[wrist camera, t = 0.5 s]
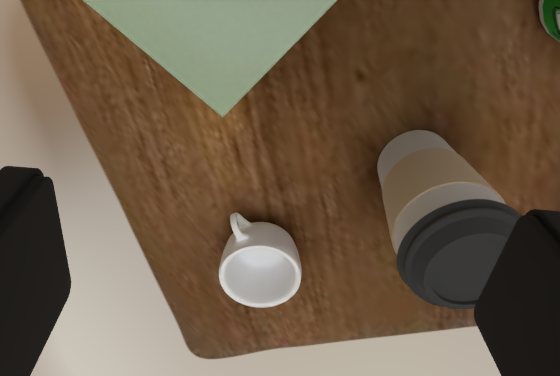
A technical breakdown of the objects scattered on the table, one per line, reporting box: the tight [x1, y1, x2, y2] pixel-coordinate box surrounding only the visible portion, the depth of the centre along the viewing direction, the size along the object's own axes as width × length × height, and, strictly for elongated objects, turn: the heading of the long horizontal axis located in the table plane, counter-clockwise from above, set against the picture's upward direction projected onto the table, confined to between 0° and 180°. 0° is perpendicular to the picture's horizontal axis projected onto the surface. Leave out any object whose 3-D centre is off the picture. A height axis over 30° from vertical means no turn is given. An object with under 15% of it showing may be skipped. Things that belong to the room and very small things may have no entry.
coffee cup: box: [377, 130, 521, 309], centre depth 36 cm, size 9×9×15 cm
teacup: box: [219, 213, 301, 307], centre depth 44 cm, size 10×8×5 cm
